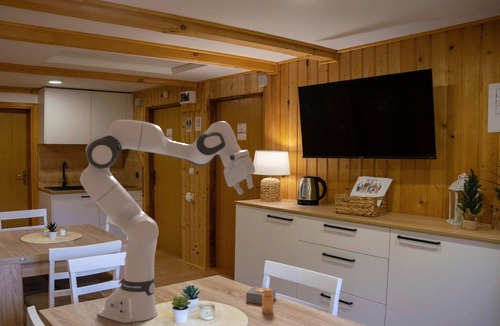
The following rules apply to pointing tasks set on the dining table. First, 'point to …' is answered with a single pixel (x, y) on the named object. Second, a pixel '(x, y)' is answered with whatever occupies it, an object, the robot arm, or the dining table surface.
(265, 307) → the orange bottle
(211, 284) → the dining table surface
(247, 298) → the grey square platform
